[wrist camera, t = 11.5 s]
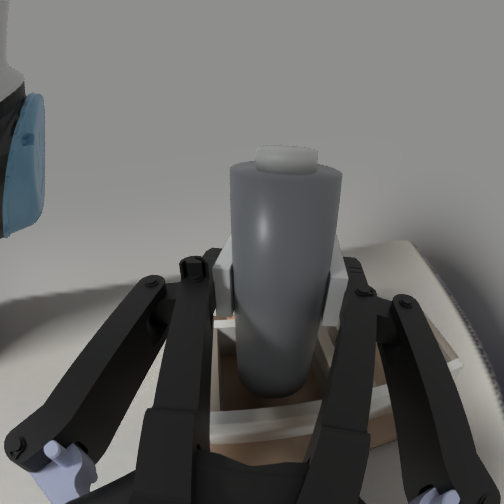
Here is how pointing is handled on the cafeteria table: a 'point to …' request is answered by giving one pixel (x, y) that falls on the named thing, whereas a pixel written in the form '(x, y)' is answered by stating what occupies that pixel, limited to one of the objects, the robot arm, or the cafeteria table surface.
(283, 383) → the plug
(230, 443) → the socket board
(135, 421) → the cafeteria table surface
